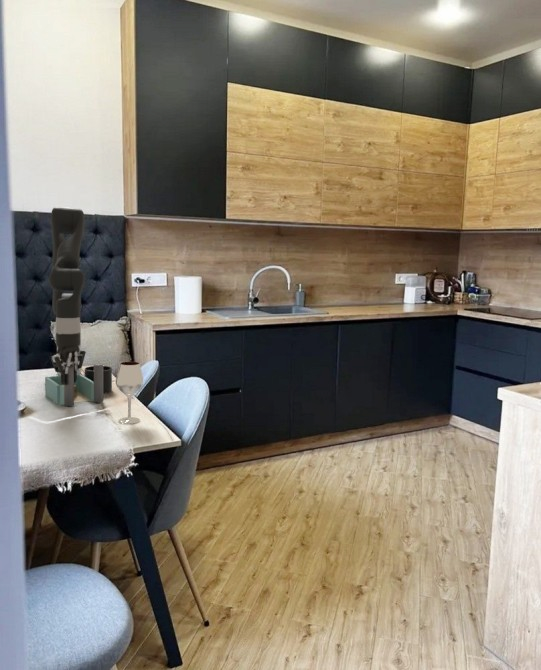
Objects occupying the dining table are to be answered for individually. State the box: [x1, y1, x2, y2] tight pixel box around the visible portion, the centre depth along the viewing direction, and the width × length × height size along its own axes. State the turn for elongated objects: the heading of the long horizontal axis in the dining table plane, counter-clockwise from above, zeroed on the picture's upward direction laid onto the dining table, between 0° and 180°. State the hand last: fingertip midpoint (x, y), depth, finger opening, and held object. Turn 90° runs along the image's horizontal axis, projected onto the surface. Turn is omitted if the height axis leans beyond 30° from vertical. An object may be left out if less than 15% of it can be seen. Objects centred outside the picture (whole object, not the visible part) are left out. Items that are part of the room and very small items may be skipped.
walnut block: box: [60, 385, 77, 397], centre depth 192 cm, size 4×4×4 cm
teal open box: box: [44, 373, 93, 406], centre depth 191 cm, size 14×12×7 cm
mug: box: [84, 365, 113, 395], centre depth 202 cm, size 9×12×9 cm
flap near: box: [60, 366, 75, 407], centre depth 181 cm, size 3×5×13 cm, turn 70°
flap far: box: [90, 363, 104, 404], centre depth 186 cm, size 3×5×13 cm, turn 57°
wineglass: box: [115, 361, 144, 425], centre depth 169 cm, size 8×8×18 cm
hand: (69, 383), depth 180 cm, fingers closed on flap near, 3 cm apart
